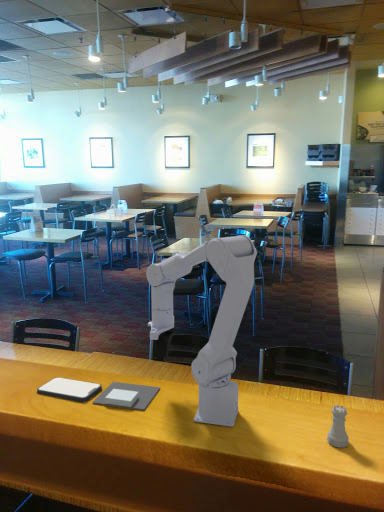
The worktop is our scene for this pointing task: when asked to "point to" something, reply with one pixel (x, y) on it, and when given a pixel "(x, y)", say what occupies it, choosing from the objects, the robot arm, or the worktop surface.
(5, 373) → the worktop surface
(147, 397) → the mat
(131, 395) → the block
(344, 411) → the rook chess piece
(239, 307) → the robot arm
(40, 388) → the smartphone
